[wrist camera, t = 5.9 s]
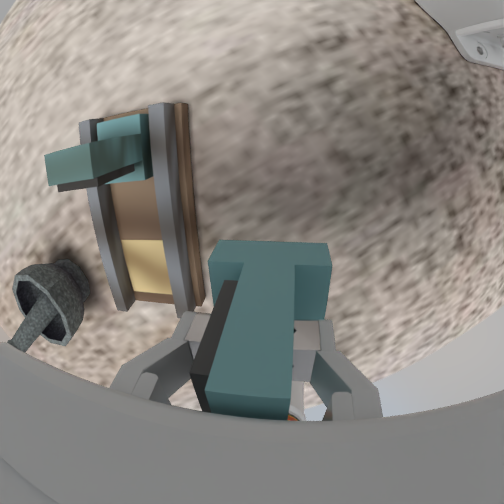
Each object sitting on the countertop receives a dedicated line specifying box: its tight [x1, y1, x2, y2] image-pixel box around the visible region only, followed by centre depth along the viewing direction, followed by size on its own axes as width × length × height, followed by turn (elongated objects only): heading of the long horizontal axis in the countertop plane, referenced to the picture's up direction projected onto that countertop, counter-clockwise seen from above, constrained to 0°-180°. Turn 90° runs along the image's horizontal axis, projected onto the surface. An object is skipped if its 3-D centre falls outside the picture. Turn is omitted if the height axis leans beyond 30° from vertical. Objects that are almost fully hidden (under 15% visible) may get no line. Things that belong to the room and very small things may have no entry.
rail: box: [44, 103, 205, 318], centre depth 19 cm, size 18×9×10 cm, turn 1°
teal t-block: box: [189, 240, 332, 420], centre depth 10 cm, size 5×4×8 cm
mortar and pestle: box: [7, 259, 90, 352], centre depth 24 cm, size 11×9×12 cm
